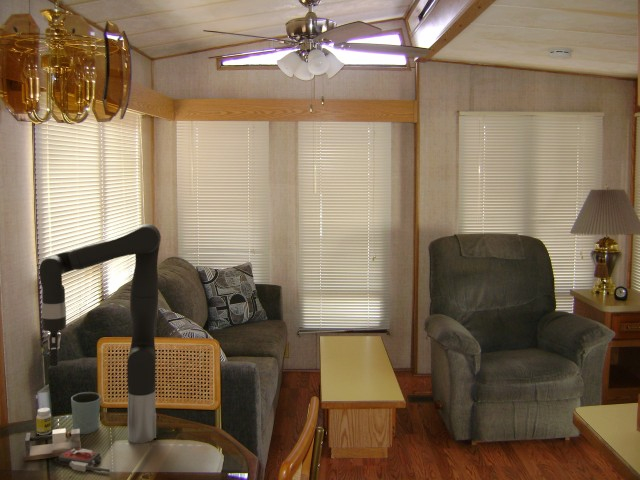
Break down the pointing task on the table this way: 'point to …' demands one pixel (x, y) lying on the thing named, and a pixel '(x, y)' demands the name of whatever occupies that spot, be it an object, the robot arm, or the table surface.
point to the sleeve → (59, 436)
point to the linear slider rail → (50, 446)
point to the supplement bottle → (43, 421)
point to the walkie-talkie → (80, 459)
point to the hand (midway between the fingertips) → (54, 361)
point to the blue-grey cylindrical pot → (85, 411)
